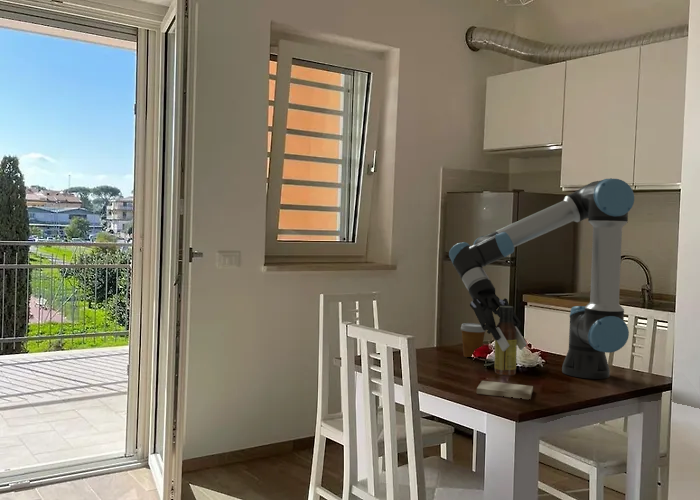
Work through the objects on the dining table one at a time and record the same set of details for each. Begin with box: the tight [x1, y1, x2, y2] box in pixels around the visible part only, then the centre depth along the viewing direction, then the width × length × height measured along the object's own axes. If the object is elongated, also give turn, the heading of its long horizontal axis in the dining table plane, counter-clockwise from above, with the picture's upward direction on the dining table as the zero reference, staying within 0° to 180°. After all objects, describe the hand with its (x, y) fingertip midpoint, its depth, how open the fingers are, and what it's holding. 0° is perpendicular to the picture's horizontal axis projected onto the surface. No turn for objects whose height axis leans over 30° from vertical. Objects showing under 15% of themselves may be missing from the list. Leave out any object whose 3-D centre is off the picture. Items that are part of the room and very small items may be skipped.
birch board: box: [476, 380, 534, 400], centre depth 195 cm, size 15×11×2 cm
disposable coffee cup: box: [459, 322, 486, 358], centre depth 249 cm, size 10×10×12 cm
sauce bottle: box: [494, 305, 518, 377], centre depth 194 cm, size 6×6×20 cm
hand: (514, 347), depth 191 cm, fingers closed on sauce bottle, 6 cm apart
